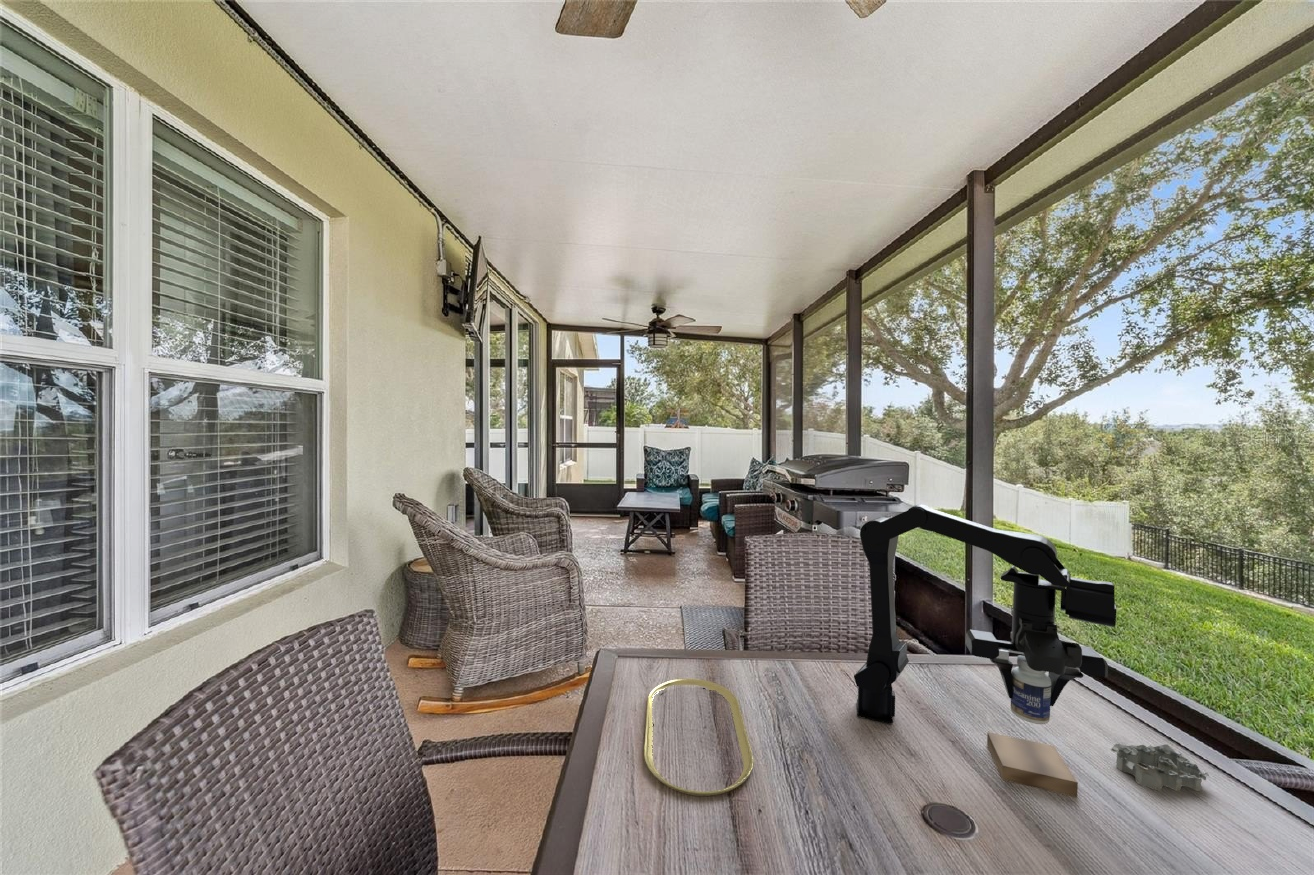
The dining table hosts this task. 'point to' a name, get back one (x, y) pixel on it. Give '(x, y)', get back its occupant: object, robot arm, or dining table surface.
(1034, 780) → the tan slab
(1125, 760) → the egg carton
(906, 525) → the robot arm
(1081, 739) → the dining table surface
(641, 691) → the dining table surface
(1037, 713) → the pill bottle
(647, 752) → the oval ring
